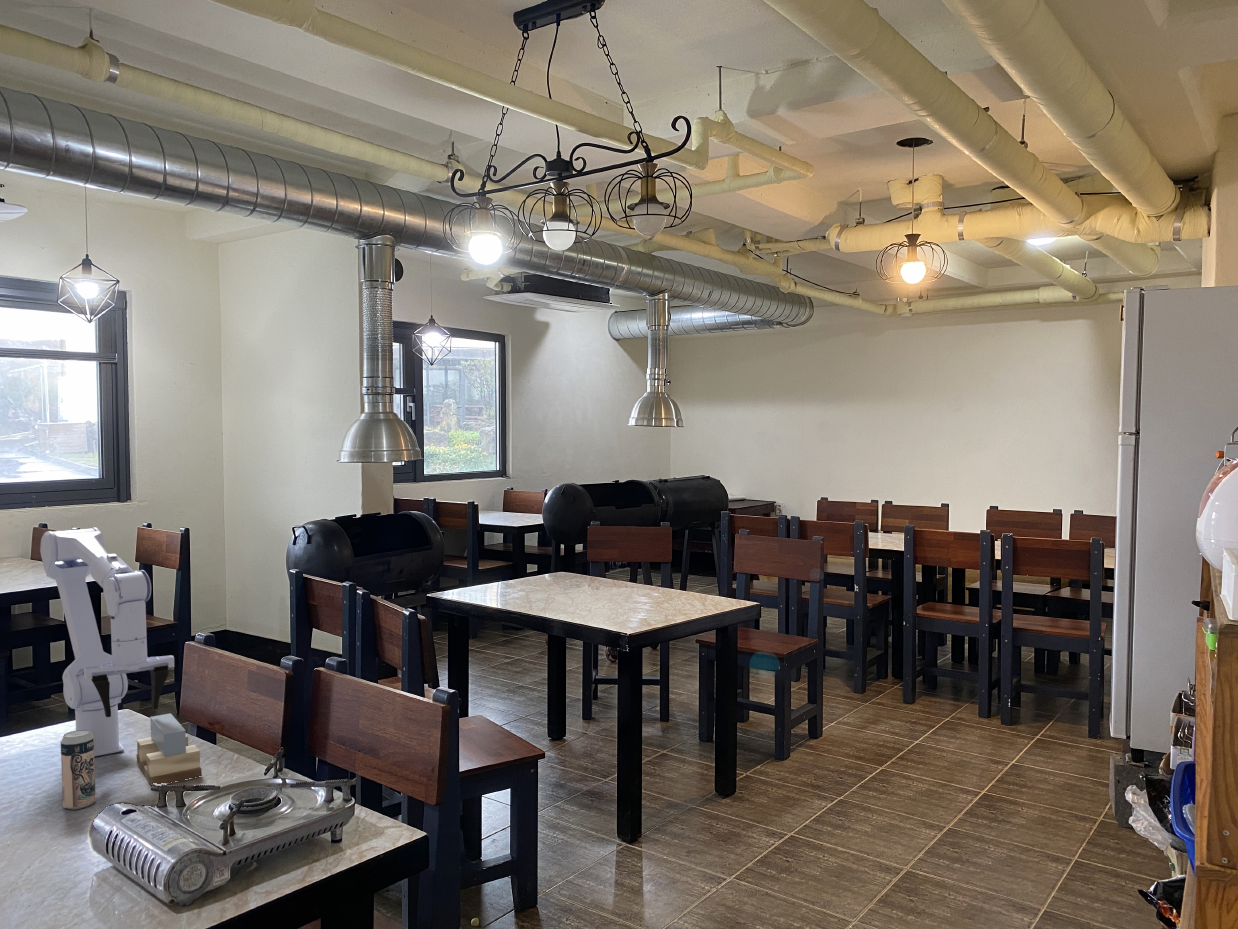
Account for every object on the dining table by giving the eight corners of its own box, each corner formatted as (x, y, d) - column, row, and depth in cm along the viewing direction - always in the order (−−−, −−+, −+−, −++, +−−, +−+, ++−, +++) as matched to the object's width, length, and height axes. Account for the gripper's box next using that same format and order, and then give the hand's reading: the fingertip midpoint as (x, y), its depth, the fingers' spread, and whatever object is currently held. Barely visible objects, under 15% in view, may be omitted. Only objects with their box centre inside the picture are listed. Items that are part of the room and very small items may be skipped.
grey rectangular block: (151, 738, 173) (150, 717, 173) (171, 734, 175) (170, 713, 175) (164, 756, 163) (163, 734, 163) (186, 752, 165) (185, 730, 165)
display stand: (136, 762, 173) (136, 738, 173) (183, 753, 178) (182, 729, 178) (152, 787, 160) (151, 762, 160) (201, 777, 165) (200, 752, 165)
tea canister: (80, 812, 150) (78, 738, 150) (55, 810, 151) (53, 737, 151) (102, 800, 155) (100, 729, 155) (78, 798, 156) (75, 728, 156)
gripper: (86, 647, 162) (89, 724, 163) (176, 636, 171) (179, 709, 171) (81, 641, 168) (84, 715, 168) (169, 630, 176) (171, 700, 177)
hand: (131, 711), depth 170 cm, fingers open, 7 cm apart
